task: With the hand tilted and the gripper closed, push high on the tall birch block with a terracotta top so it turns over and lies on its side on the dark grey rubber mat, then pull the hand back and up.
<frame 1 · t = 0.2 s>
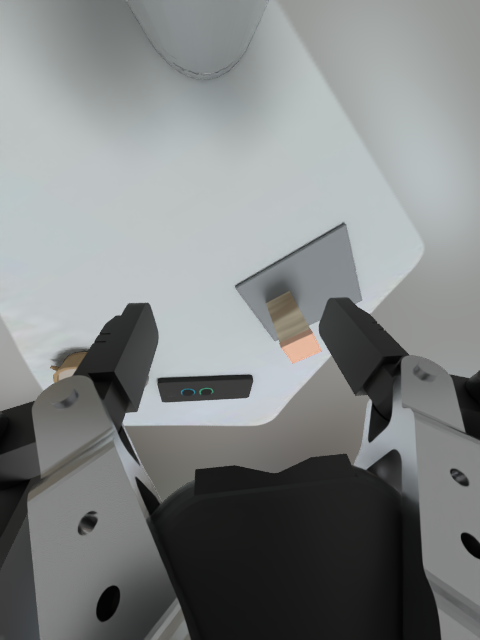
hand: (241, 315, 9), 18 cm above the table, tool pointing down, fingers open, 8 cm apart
rubber mat: (302, 293, 32), on the table
birch block: (282, 305, 32), resting on rubber mat
alarm clock: (109, 367, 39), on the table
smart home device: (206, 384, 47), on the table
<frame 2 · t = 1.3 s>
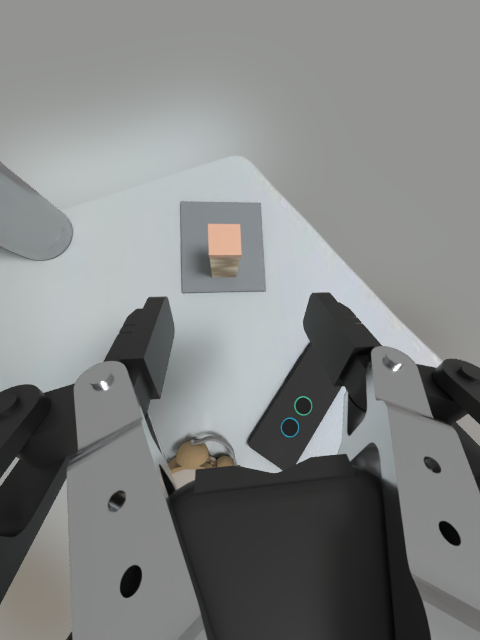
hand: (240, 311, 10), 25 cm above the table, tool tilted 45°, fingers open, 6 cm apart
rubber mat: (223, 247, 36), on the table
birch block: (223, 265, 35), resting on rubber mat
alarm clock: (198, 476, 32), on the table
smart home device: (298, 401, 35), on the table
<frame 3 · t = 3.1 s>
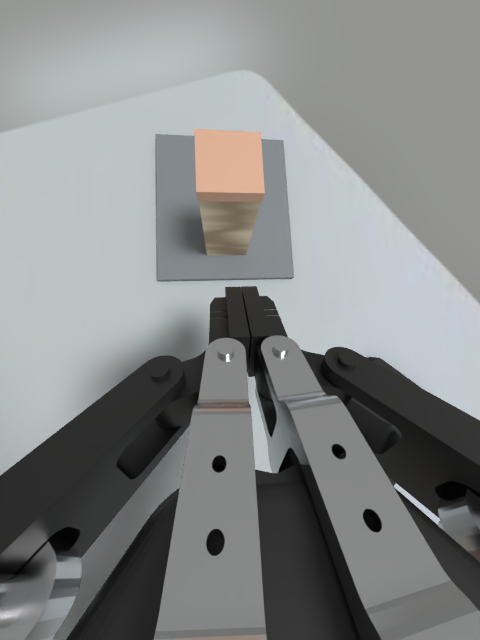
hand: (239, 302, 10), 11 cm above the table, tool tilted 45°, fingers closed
rubber mat: (224, 208, 22), on the table
birch block: (225, 236, 21), resting on rubber mat
smart home device: (347, 455, 21), on the table
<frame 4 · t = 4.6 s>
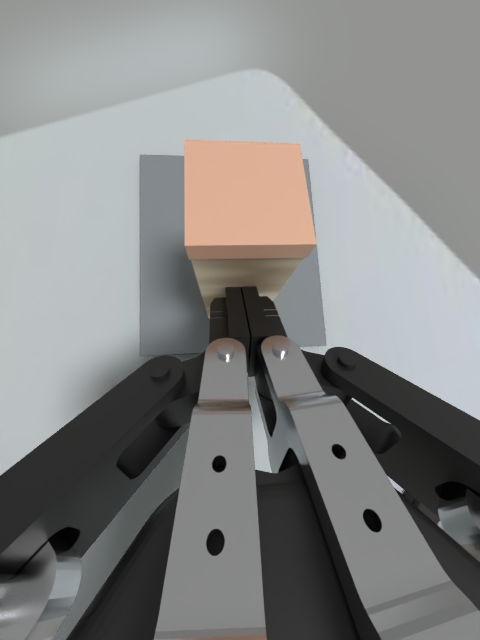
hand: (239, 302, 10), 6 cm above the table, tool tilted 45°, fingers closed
rubber mat: (231, 251, 17), on the table
birch block: (234, 291, 16), point 1 cm above the table, tilted 7°, touching rubber mat
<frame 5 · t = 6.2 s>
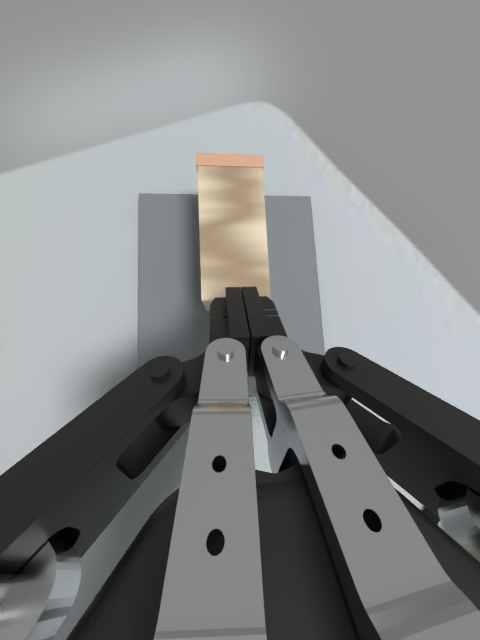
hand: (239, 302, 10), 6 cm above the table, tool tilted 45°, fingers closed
rubber mat: (232, 292, 16), on the table
birch block: (234, 305, 14), point 2 cm above the table, tilted 90°, touching rubber mat
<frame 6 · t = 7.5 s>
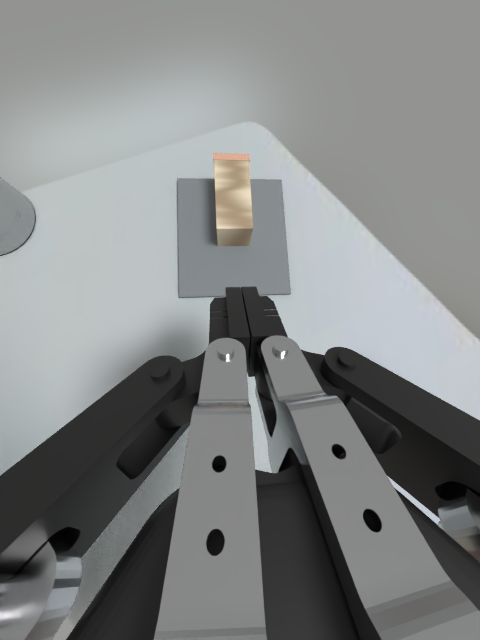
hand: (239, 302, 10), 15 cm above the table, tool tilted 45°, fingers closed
rubber mat: (233, 237, 27), on the table
birch block: (234, 238, 24), point 2 cm above the table, tilted 90°, touching rubber mat
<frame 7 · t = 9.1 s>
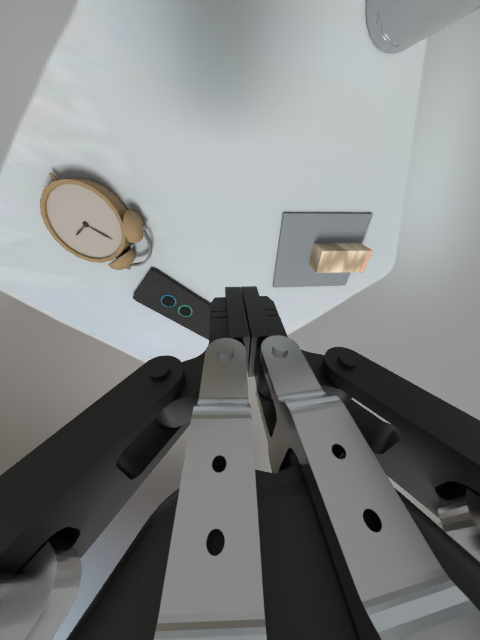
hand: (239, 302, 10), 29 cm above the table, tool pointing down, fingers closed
rubber mat: (317, 253, 40), on the table
birch block: (314, 258, 38), point 2 cm above the table, tilted 90°, touching rubber mat
alarm clock: (108, 226, 34), on the table
smart home device: (187, 306, 45), on the table
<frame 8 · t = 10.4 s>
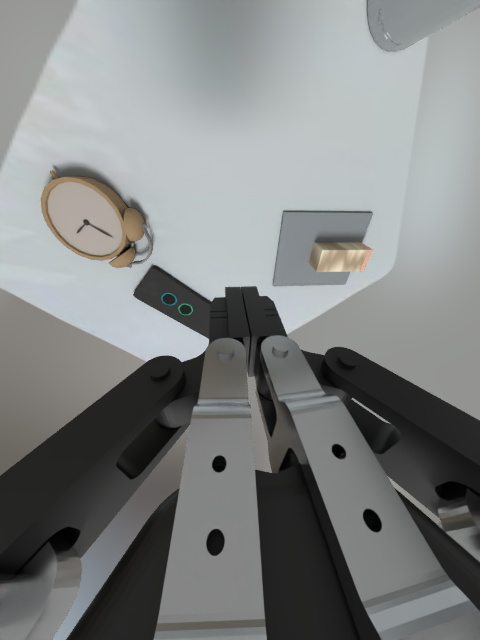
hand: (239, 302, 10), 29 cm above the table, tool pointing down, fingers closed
rubber mat: (317, 252, 40), on the table
birch block: (314, 257, 38), point 2 cm above the table, tilted 90°, touching rubber mat
alarm clock: (109, 224, 34), on the table
smart home device: (187, 304, 45), on the table
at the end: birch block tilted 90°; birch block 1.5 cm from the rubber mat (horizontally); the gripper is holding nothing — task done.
